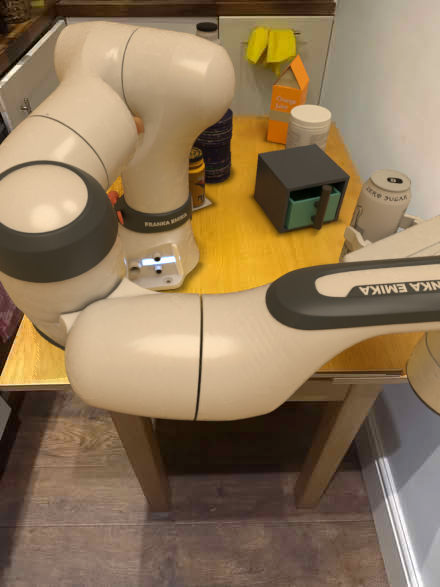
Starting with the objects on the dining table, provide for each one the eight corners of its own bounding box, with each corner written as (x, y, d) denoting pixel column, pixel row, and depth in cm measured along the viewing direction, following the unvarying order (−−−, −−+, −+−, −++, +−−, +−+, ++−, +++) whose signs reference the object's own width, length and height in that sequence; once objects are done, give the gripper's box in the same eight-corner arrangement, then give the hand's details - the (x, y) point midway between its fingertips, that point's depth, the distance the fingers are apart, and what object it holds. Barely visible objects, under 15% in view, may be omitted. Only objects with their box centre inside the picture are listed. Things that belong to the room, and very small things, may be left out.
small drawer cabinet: (337, 220, 89) (350, 176, 81) (279, 233, 86) (287, 188, 78) (306, 186, 98) (315, 143, 90) (253, 197, 95) (258, 153, 87)
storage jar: (191, 162, 105) (189, 103, 94) (229, 162, 105) (232, 103, 94) (191, 184, 98) (188, 122, 87) (231, 183, 98) (234, 123, 87)
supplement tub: (320, 163, 106) (333, 106, 95) (319, 183, 99) (333, 124, 89) (283, 159, 107) (291, 101, 96) (280, 178, 100) (288, 119, 90)
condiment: (212, 204, 92) (213, 155, 84) (179, 216, 89) (176, 166, 80) (195, 188, 97) (194, 140, 88) (164, 199, 93) (159, 150, 84)
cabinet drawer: (341, 227, 86) (354, 185, 78) (294, 238, 83) (303, 195, 76) (305, 187, 96) (313, 145, 88) (262, 195, 93) (267, 153, 86)
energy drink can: (336, 252, 63) (363, 164, 52) (376, 257, 62) (412, 169, 51) (337, 280, 59) (368, 190, 48) (380, 285, 58) (420, 196, 47)
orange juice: (300, 132, 117) (314, 55, 103) (293, 145, 112) (306, 66, 97) (274, 127, 119) (283, 50, 104) (265, 140, 113) (274, 61, 99)
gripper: (381, 337, 46) (304, 263, 54) (494, 275, 53) (412, 218, 61) (400, 300, 41) (313, 225, 49) (521, 238, 48) (429, 181, 56)
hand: (369, 221), depth 55 cm, fingers closed on energy drink can, 6 cm apart
